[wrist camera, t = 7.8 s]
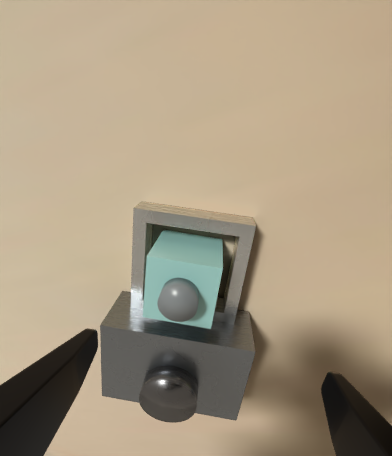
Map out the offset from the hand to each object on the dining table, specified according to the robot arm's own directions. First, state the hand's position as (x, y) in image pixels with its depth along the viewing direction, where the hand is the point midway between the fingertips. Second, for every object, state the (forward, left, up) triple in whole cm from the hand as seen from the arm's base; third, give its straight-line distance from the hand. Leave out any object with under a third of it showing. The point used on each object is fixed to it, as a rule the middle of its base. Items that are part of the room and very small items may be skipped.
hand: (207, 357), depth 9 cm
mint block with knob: (+2, +2, -12) cm, 12 cm away
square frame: (+2, +6, -12) cm, 13 cm away
